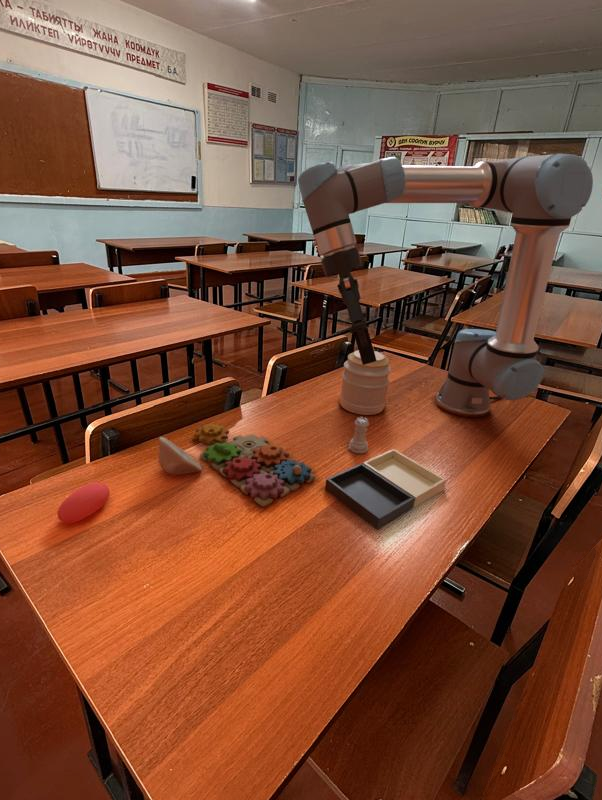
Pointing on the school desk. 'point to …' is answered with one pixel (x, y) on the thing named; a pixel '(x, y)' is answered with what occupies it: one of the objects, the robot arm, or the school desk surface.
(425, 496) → the light tray
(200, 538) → the school desk surface
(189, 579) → the school desk surface
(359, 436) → the rook chess piece
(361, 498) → the dark tray
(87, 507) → the stress ball
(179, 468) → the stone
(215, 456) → the gear puzzle
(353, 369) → the jar
